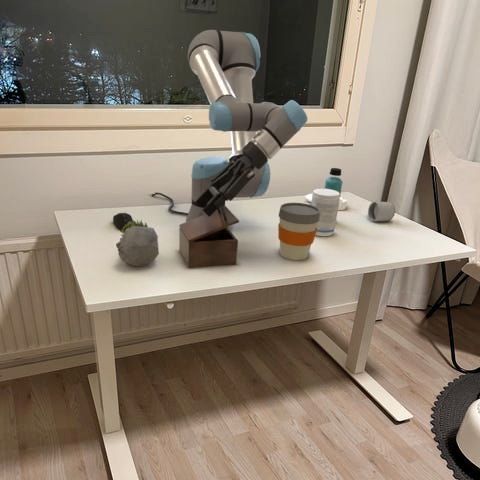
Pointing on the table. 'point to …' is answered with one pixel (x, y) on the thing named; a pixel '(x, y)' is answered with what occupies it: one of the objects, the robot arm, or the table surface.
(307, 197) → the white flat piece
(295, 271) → the table surface
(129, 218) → the gaming mouse
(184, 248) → the bin
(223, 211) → the bin lid
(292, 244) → the reusable coffee cup
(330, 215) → the supplement tub
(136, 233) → the potted plant
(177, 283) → the table surface
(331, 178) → the beverage bottle
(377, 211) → the ceramic mug
